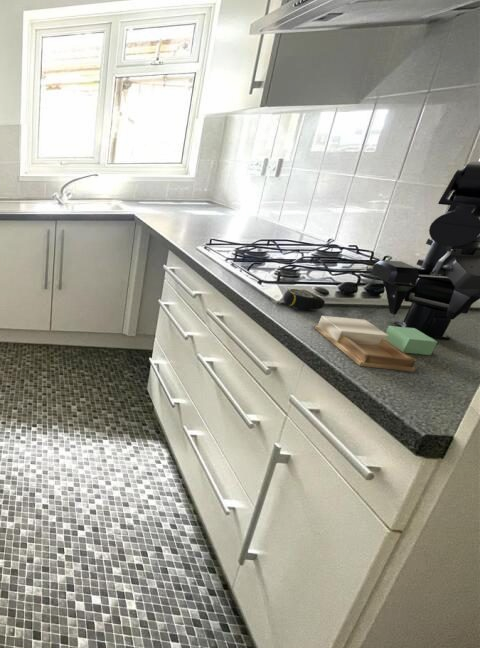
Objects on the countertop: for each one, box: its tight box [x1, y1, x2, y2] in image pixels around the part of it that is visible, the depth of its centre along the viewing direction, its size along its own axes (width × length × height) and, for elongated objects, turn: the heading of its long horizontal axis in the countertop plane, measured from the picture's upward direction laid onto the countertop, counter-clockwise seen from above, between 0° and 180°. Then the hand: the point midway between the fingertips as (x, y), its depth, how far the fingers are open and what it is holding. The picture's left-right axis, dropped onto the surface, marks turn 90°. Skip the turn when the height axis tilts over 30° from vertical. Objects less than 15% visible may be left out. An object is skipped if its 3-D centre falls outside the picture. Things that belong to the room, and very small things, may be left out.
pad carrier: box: [315, 315, 417, 373], centre depth 82 cm, size 16×8×3 cm, turn 166°
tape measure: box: [282, 288, 326, 311], centre depth 101 cm, size 7×7×4 cm
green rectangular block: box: [385, 325, 438, 356], centre depth 83 cm, size 6×4×3 cm
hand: (420, 316), depth 81 cm, fingers open, 9 cm apart
